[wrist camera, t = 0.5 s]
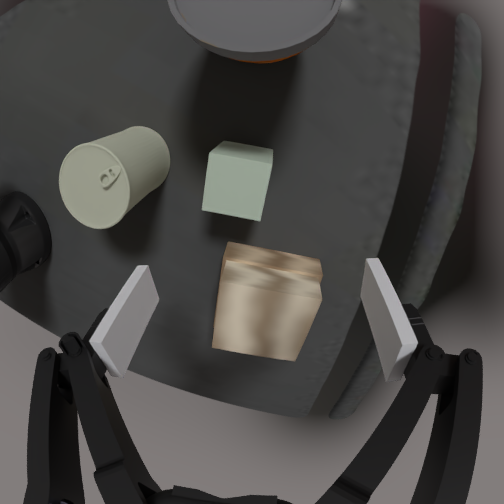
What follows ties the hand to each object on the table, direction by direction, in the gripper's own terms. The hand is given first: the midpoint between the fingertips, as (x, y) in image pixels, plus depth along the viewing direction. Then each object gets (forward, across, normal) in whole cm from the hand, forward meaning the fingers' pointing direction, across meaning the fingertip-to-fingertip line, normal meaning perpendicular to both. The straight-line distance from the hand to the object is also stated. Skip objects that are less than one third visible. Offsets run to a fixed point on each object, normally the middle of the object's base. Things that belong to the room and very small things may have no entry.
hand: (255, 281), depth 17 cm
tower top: (+17, -1, -16) cm, 23 cm away
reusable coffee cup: (+21, +1, +19) cm, 29 cm away
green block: (+21, -3, +2) cm, 21 cm away
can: (+21, -16, +4) cm, 27 cm away
